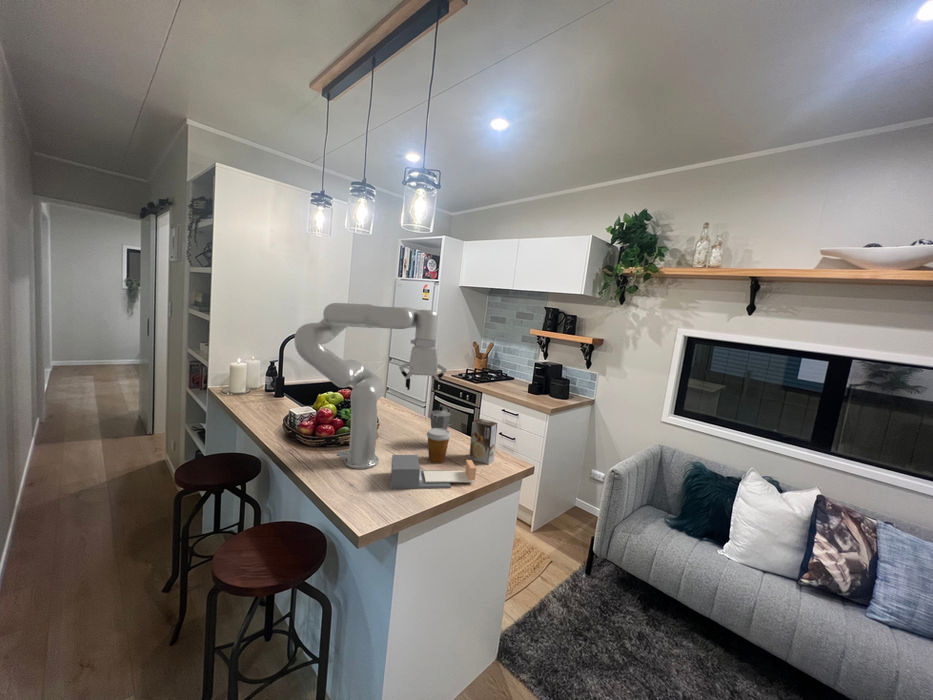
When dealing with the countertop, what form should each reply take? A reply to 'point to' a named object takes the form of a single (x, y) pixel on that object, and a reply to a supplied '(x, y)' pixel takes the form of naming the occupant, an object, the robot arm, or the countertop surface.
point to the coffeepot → (440, 418)
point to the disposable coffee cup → (437, 444)
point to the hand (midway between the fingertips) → (421, 389)
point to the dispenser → (411, 474)
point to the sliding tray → (452, 474)
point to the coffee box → (483, 441)
